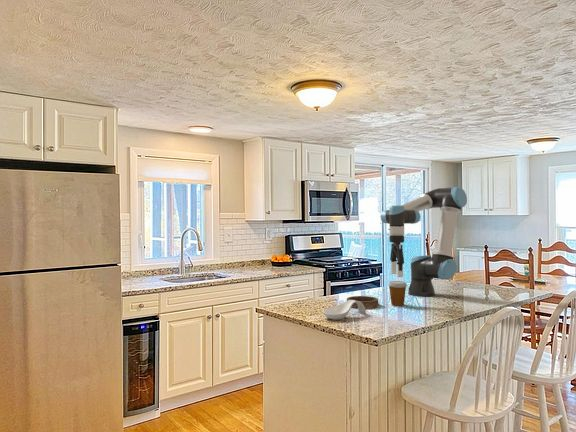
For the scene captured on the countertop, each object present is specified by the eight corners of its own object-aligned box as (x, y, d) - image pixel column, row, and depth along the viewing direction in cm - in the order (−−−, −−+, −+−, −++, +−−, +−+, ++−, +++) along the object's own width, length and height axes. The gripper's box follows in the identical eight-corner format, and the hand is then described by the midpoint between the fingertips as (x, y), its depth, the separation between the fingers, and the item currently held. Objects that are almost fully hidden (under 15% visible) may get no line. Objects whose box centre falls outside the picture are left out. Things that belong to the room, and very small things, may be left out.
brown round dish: (358, 301, 241) (358, 294, 241) (385, 305, 229) (385, 298, 229) (339, 305, 230) (339, 298, 230) (366, 310, 217) (366, 303, 217)
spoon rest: (335, 323, 192) (335, 306, 192) (317, 318, 201) (317, 303, 202) (371, 315, 207) (371, 300, 207) (353, 311, 216) (353, 297, 216)
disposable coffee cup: (407, 307, 224) (407, 283, 224) (388, 306, 226) (388, 283, 226) (406, 303, 233) (406, 281, 233) (388, 303, 235) (387, 280, 235)
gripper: (384, 234, 242) (384, 272, 242) (395, 235, 217) (395, 278, 217) (398, 234, 242) (398, 272, 242) (410, 235, 217) (410, 278, 217)
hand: (396, 275), depth 229 cm, fingers open, 13 cm apart
